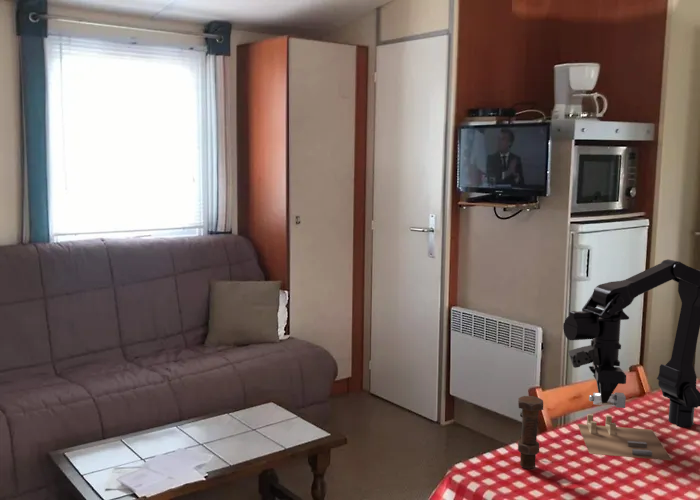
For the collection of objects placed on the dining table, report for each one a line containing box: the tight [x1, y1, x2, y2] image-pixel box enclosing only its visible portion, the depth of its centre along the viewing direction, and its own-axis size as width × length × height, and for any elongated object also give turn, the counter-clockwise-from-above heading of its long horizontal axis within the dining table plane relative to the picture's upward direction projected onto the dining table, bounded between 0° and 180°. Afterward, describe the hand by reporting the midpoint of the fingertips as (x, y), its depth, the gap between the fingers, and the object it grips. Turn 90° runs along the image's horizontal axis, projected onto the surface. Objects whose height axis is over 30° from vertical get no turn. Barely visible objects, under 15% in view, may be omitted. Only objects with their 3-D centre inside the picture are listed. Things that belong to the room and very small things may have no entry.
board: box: [577, 423, 673, 461], centre depth 164 cm, size 18×18×1 cm
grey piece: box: [588, 391, 627, 409], centre depth 169 cm, size 8×3×3 cm, turn 80°
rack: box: [586, 413, 617, 436], centre depth 170 cm, size 6×6×3 cm
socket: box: [627, 441, 652, 456], centre depth 159 cm, size 6×4×1 cm
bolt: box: [517, 395, 544, 470], centre depth 150 cm, size 6×5×15 cm
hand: (602, 400), depth 170 cm, fingers closed on grey piece, 3 cm apart
